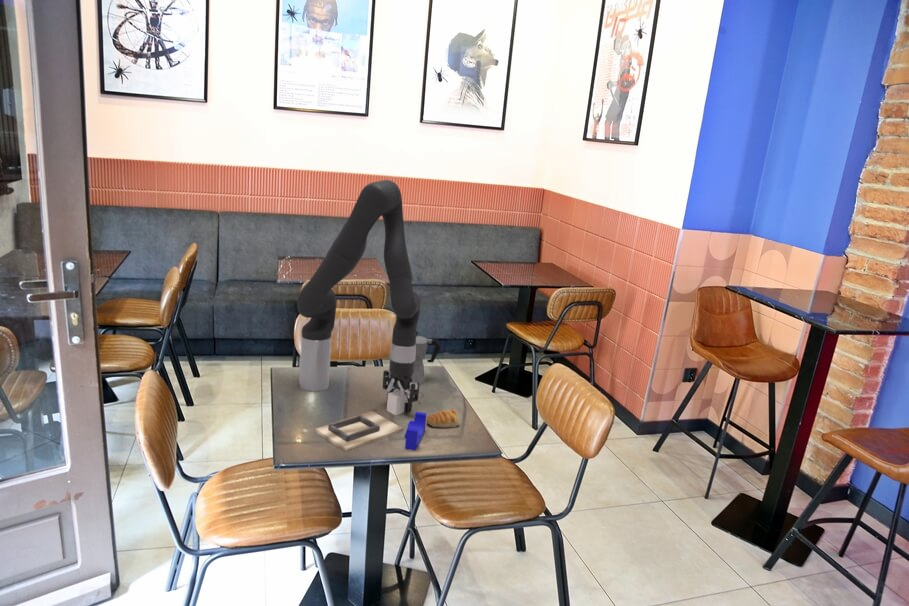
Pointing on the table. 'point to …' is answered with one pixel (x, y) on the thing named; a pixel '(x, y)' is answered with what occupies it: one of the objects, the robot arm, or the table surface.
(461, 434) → the table surface
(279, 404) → the table surface
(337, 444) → the board
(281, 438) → the table surface
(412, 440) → the cable clip
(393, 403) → the keyed plug
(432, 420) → the pastry
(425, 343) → the coffeepot
